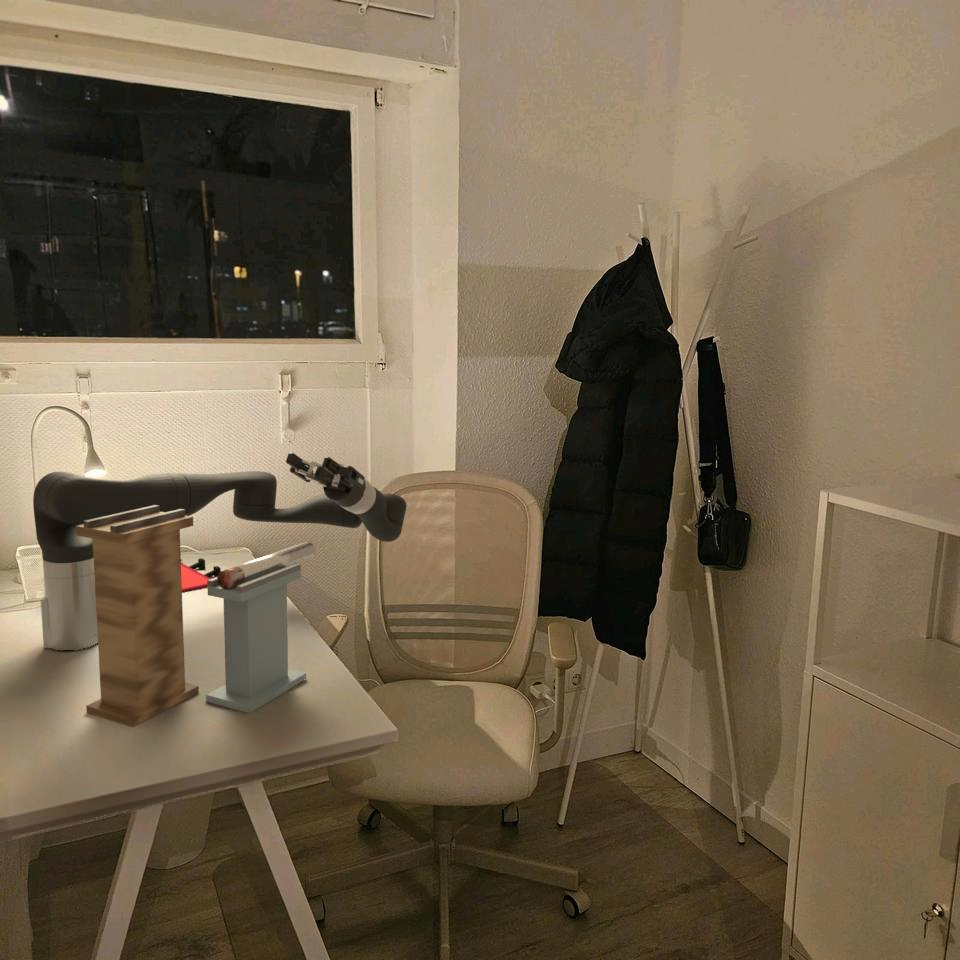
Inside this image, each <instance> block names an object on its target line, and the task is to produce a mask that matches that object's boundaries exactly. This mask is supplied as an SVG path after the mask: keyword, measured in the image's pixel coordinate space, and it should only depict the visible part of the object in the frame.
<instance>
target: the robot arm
mask: <svg viewBox="0 0 960 960" xmlns="http://www.w3.org/2000/svg"><path fill="white" fill-rule="evenodd" d="M285 463H286V465H288V466H290V468H289V472H290V473H292V474H293V475H294V476H297V477H298V478H299V479H301V480H302V481H304V482H305V483H311V481H312V482H314V483H317V485H319V486H322V489H323V492H324V494H319V495H317V496H314V497H311V498H310V499H307V500H306V501H304V502H301V503H299V504H296V505H294V506H291V507H288V508H287V507H286V508H276V500H277V499H276V498H277V486H278V482H277V481H278V480H277V478H276V476H275V475H274V474H273V473H271V472H267V471H261V470H260V471H259V470H258V471H257V470H249V471H237V472H236V471H235V472H224V473H221V472H219V473H185V472H184V473H183V472H182V473H179V472H177V473H176V472H173V473H171V472H169V473H167V472H165V473H164V472H162V473H160V472H159V473H153V474H152V473H151V474H147V475H143V476H139V477H136V478H132V479H124V480H123V479H122V480H116V479H115V480H114V479H101V478H100V479H99V478H92V477H87V476H82V475H79V474H75V473H71V472H67V471H66V472H65V471H53V472H49V473H47V474H46V475H44V476H42V477H41V478H40V480H38V482H37V484H36V486H35V488H34V491H33V501H32V504H33V505H32V506H33V517H34V523H35V524H34V526H35V535H36V540H37V543H38V545H39V548H40V550H41V554H42V556H41V557H42V568H43V582H44V583H43V585H44V597H42V599H41V600H40V610H41V612H40V613H41V626H42V641H43V642H42V643H43V649H50V648H52V649H51V650H53V649H56V650H55V651H57V650H74V651H77V650H76V649H81V650H84V649H83V648H85V649H88V648H87V647H89V648H91V647H90V646H92V647H94V646H96V645H98V644H97V643H98V632H97V613H96V594H95V576H94V557H93V538H87V537H82V536H77V534H76V526H78V525H83V524H84V521H86V520H90V519H95V518H99V517H103V516H108V515H112V514H117V513H121V512H126V511H130V510H135V509H139V508H144V507H148V506H153V505H158V506H160V512H169V511H173V510H178V509H185V516H192V515H194V514H195V513H197V512H199V511H200V510H202V509H204V508H205V507H206V506H208V505H209V504H210V503H212V501H214V500H216V498H218V497H220V496H221V495H224V494H225V493H227V492H230V491H233V504H232V513H233V515H234V517H236V518H238V519H240V520H244V521H249V522H258V523H259V522H261V523H262V522H263V523H279V524H280V523H281V524H283V523H284V524H320V525H328V526H333V527H334V526H335V527H343V528H349V529H357V528H359V527H360V526H361V524H363V525H364V527H365V529H366V530H367V532H368V533H369V534H370V535H371V536H372V537H374V538H375V539H376V540H378V541H381V542H385V543H390V542H394V541H395V540H397V539H399V537H400V536H401V534H402V531H403V530H402V529H403V525H404V521H405V516H406V511H407V506H408V505H407V502H406V500H405V499H404V498H403V496H401V495H399V494H396V493H389V492H388V493H383V492H381V491H380V490H379V489H377V488H376V487H375V486H373V485H372V484H371V482H370V481H368V480H367V479H366V477H365V476H364V475H363V474H362V473H360V472H359V471H358V470H357V469H356V468H354V467H353V466H352V465H344V464H343V463H338V462H337V461H335V460H334V459H333V458H332V457H330V456H325V457H324V459H323V462H322V464H321V463H318V462H316V461H311V462H308V461H307V460H304V459H302V458H301V457H300V456H298V455H297V454H296V453H294V452H288V454H287V457H286V459H285ZM314 467H315V468H316V470H315V471H314ZM95 644H96V645H95ZM93 645H94V646H93Z"/></svg>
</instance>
